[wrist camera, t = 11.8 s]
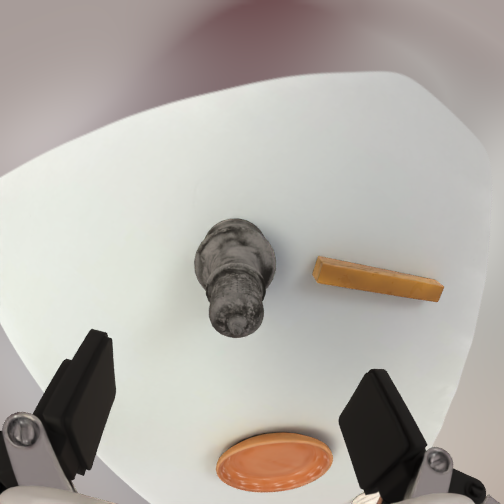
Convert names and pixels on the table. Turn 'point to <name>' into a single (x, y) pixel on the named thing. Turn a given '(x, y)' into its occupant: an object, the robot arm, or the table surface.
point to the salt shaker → (235, 275)
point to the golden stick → (375, 280)
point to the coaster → (366, 499)
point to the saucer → (274, 462)
